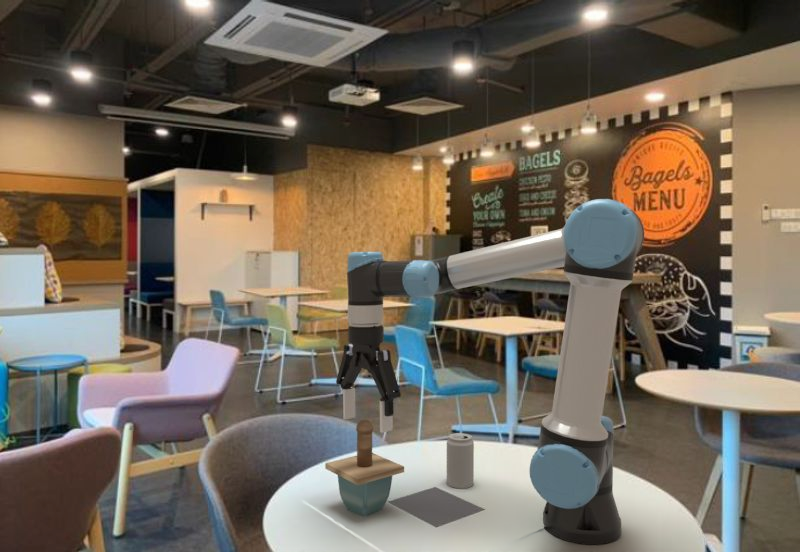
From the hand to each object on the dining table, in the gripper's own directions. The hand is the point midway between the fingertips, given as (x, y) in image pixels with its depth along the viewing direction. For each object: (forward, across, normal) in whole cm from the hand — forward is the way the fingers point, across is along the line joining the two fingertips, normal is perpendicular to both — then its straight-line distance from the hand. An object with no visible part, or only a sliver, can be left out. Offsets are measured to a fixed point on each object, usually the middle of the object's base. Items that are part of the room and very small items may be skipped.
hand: (367, 424), depth 129 cm
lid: (+10, 0, 0) cm, 10 cm away
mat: (+19, -7, -13) cm, 24 cm away
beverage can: (+19, -1, -26) cm, 32 cm away
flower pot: (+19, +1, 0) cm, 19 cm away
